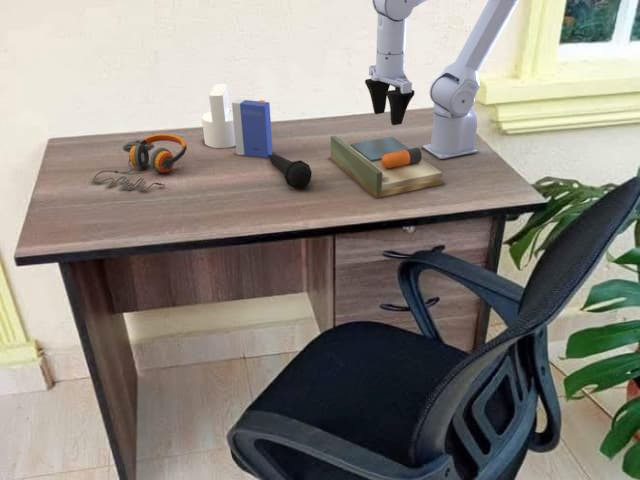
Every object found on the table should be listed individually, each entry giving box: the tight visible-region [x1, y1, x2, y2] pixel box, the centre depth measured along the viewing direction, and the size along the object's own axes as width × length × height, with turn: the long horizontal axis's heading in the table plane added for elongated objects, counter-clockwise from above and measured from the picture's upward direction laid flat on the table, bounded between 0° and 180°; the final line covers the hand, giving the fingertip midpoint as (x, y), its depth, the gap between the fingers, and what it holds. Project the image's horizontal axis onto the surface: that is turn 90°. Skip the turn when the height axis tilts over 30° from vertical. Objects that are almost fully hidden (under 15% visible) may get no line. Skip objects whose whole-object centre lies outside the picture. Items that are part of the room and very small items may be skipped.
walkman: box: [231, 98, 274, 159], centre depth 146 cm, size 8×3×12 cm, turn 71°
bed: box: [330, 135, 444, 199], centre depth 139 cm, size 15×22×5 cm
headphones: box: [93, 133, 188, 192], centre depth 140 cm, size 17×5×20 cm
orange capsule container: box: [381, 146, 423, 169], centre depth 136 cm, size 9×3×3 cm
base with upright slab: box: [201, 83, 236, 149], centre depth 153 cm, size 9×9×12 cm
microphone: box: [268, 153, 313, 190], centre depth 139 cm, size 6×6×20 cm
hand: (387, 118), depth 140 cm, fingers open, 7 cm apart
